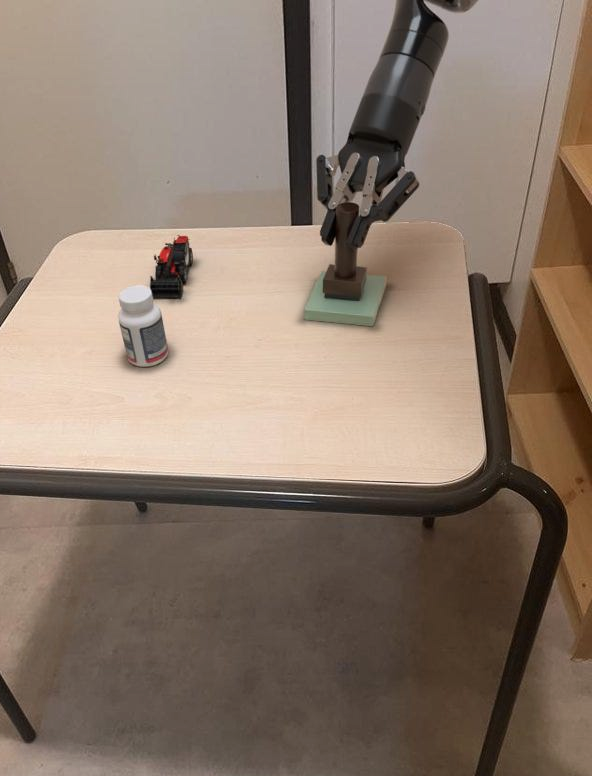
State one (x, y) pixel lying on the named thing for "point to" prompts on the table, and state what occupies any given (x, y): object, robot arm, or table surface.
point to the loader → (172, 268)
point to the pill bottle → (142, 327)
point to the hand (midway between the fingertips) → (338, 245)
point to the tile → (346, 304)
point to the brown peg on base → (344, 259)
